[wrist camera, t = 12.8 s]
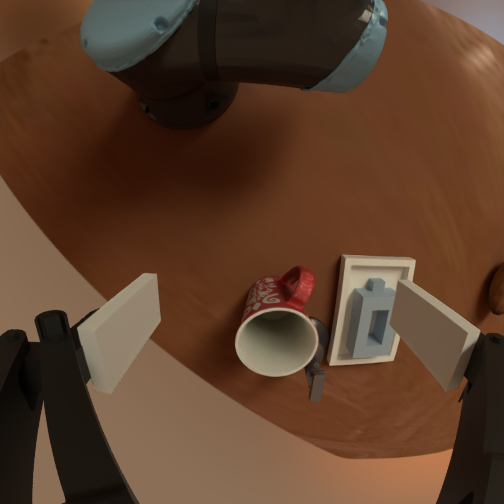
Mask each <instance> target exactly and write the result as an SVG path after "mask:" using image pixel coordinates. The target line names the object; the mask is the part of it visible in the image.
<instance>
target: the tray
mask: <svg viewBox="0 0 504 504" xmlns="http://www.w3.org/2000/svg"><path fill="white" fill-rule="evenodd" d="M415 262H416V260H414V259H412V258H410V257H390V256H364V255H341V264H340V273H339V282H338V290H337V297H336V305H335V312H334V318H333V325H332V331H331V337H330V343H329V349H328V354H327V360H328V363H329V366H331V365H350V364H364V363H376V362H386V361H393V360H394V357H395V354H396V350H397V346H398V343H399V339H400V336H399V335H398V334H397V333H396V332H395V331H394V335H393V340H392V344H391V348H390V351H389V355H386V356H376V357H365V358H352V357H351V355H350V353H349V351H348V349H347V347H346V342H347V336H348V330H349V324H350V318H351V312H352V305H353V298H354V290H355V288H368V282H369V278H381V279H382V280H384V281H385V288H392V289H393V290H395V291H396V288H397V282H398V280H410V281H411V282H412V280H413V274H414V268H415ZM376 316H377V310H376V311H372V317H371V322H370V327H369V332H368V334H371V333H373V331H374V326H375V321H376Z"/></svg>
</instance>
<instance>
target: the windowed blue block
mask: <svg viewBox="0 0 504 504" xmlns="http://www.w3.org/2000/svg"><path fill="white" fill-rule="evenodd" d="M395 294H396V291H395V290H393V289H392V288H385V281H384V280H382V279H381V278H369V282H368V288H355V290H354V298H353V305H352V312H351V318H350V324H349V330H348V336H347V342H346V347H347V349H348V351H349V353H350V355H351V357H352V358H365V357H376V356H386V355H389V351H390V348H391V344H392V340H393V335H394V329H393V328H392V327H391V326H390V325H389V323H390V319H391V314H392V309H393V304H394V299H395ZM376 310H377V316H376V321H375V326H374V331H373V333H371V334H368V332H369V327H370V322H371V317H372V311H376Z"/></svg>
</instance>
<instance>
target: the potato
mask: <svg viewBox="0 0 504 504" xmlns="http://www.w3.org/2000/svg"><path fill="white" fill-rule="evenodd" d="M488 300H489V308H490V309H491V311H492V313H493V314H496V315H501V314H504V263H503V264H502V265H501V266H500V267H499V269H498V270H497V271H496V273H495V274H494V276H493V279H492V282H491V285H490V288H489V296H488Z"/></svg>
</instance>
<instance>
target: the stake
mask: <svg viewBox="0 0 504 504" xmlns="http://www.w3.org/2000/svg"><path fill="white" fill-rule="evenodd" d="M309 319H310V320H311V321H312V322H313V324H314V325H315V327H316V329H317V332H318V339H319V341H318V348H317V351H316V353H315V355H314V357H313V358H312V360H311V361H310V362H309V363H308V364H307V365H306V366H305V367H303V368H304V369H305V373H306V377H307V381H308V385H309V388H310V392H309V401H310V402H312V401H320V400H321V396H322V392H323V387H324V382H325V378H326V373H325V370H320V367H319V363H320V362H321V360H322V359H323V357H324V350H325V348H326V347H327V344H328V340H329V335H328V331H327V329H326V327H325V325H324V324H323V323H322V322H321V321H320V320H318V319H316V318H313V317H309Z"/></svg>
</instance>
